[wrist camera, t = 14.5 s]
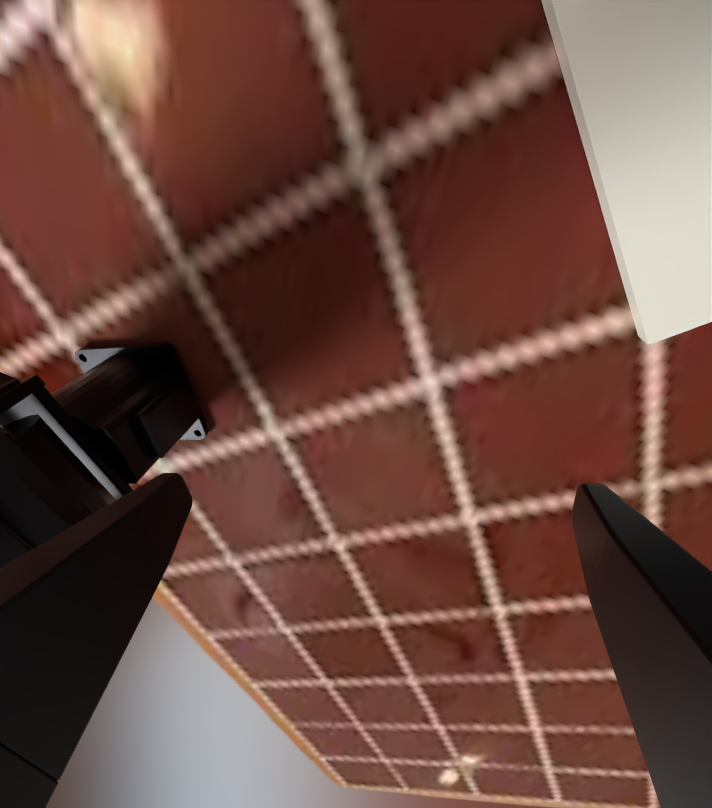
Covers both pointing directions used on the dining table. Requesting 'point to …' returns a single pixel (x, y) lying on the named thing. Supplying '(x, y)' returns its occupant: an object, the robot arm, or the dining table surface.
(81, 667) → the robot arm
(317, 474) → the dining table surface
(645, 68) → the mat
